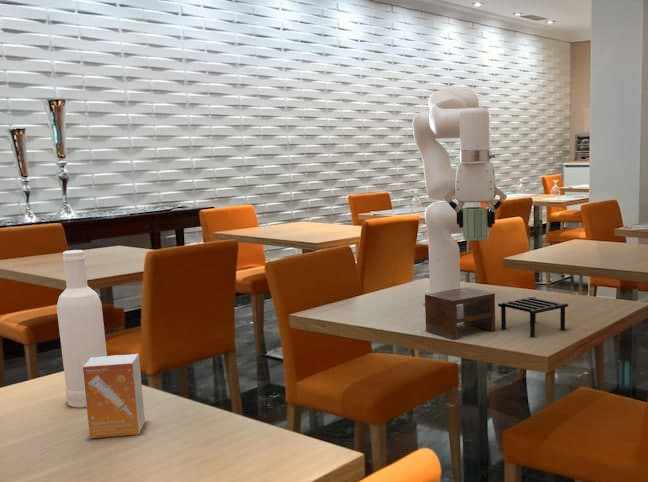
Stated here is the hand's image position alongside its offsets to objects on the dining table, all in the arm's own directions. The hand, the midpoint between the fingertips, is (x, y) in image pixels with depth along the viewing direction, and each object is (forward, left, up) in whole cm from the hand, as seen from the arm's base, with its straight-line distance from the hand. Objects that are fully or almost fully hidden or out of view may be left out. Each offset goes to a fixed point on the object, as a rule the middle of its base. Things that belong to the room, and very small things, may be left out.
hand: (475, 226), depth 194 cm
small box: (+13, -94, -28) cm, 99 cm away
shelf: (-3, -4, -28) cm, 28 cm away
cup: (0, 0, -3) cm, 3 cm away
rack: (+9, +11, -28) cm, 31 cm away
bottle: (-8, -94, -28) cm, 98 cm away
